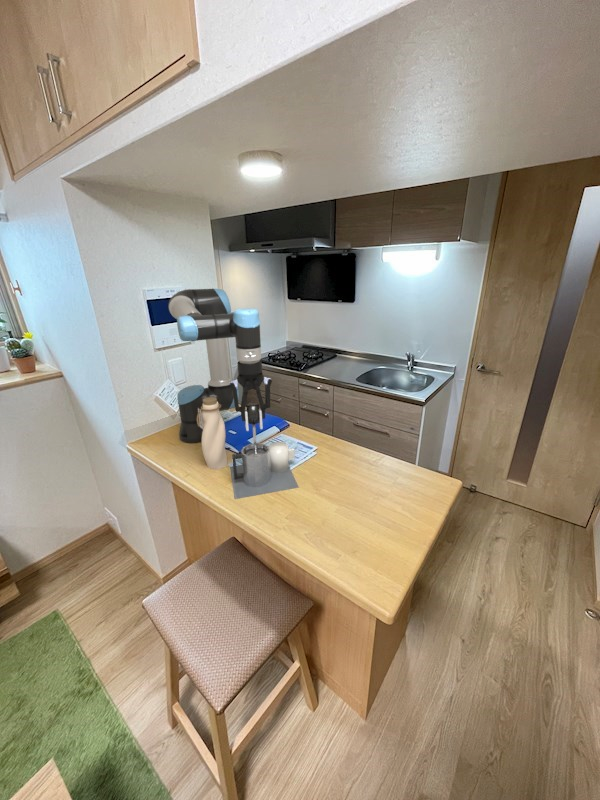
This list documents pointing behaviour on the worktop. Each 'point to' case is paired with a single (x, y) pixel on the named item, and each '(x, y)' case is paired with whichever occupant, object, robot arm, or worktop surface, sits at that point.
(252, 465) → the press carafe
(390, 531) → the worktop surface
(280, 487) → the slate board
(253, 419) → the plunger
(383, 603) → the worktop surface
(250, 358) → the robot arm
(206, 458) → the water bottle
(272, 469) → the cream mug
